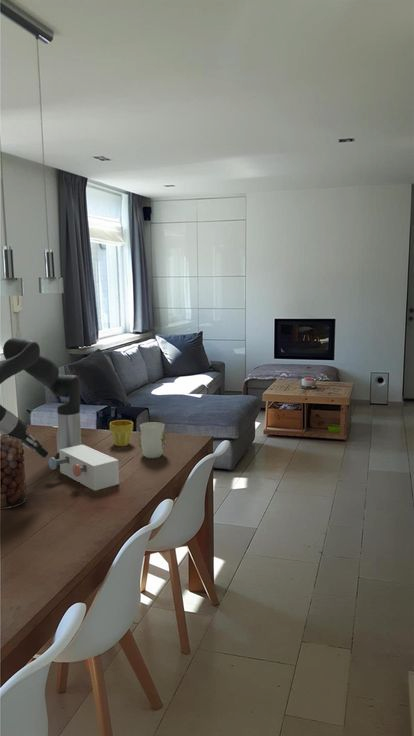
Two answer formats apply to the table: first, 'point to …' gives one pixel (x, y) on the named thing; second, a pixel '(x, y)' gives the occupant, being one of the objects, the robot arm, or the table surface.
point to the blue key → (57, 462)
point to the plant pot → (121, 432)
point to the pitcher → (152, 439)
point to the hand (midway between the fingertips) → (45, 455)
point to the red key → (78, 469)
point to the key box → (90, 467)
